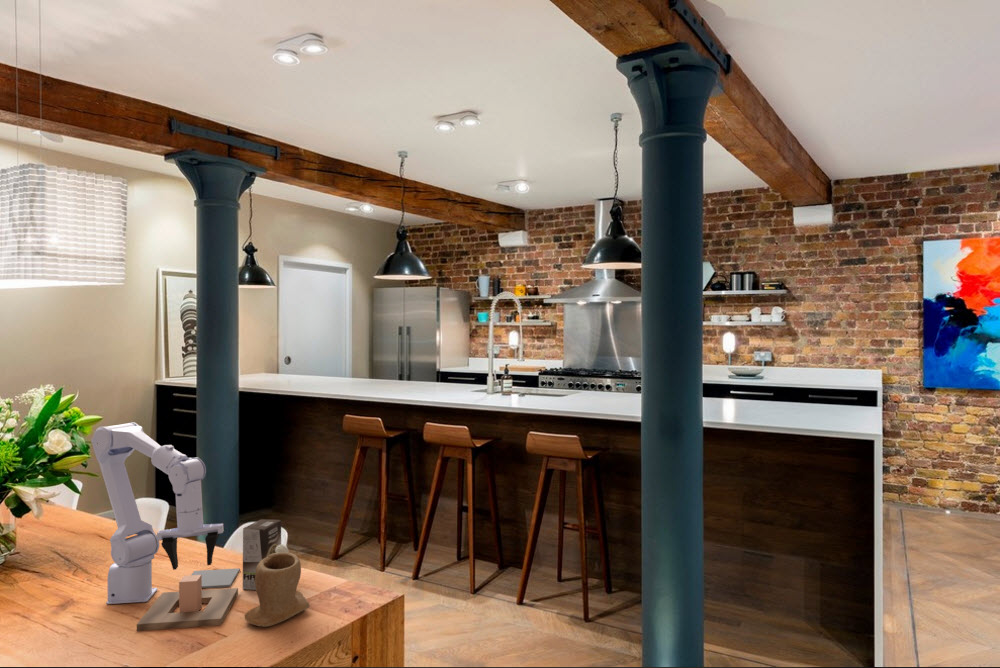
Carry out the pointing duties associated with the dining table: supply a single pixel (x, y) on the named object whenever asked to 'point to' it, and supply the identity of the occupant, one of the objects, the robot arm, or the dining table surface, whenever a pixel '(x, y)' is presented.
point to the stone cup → (277, 590)
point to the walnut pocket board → (168, 601)
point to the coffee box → (258, 547)
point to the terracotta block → (190, 593)
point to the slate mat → (217, 577)
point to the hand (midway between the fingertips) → (192, 566)
